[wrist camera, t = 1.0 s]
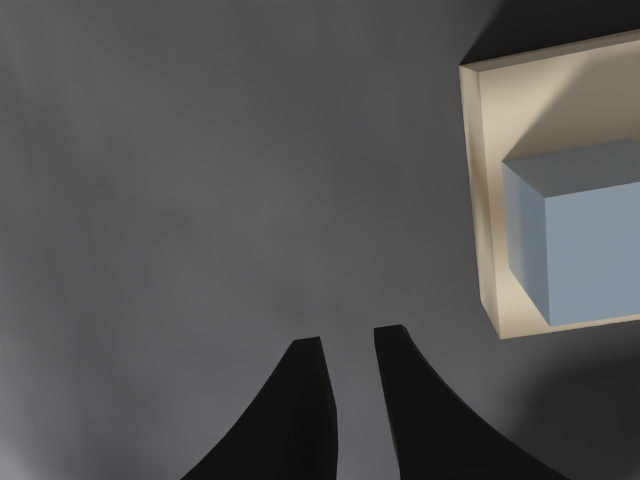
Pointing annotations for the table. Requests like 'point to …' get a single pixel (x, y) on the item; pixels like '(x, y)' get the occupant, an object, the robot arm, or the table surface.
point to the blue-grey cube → (576, 230)
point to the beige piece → (539, 143)
